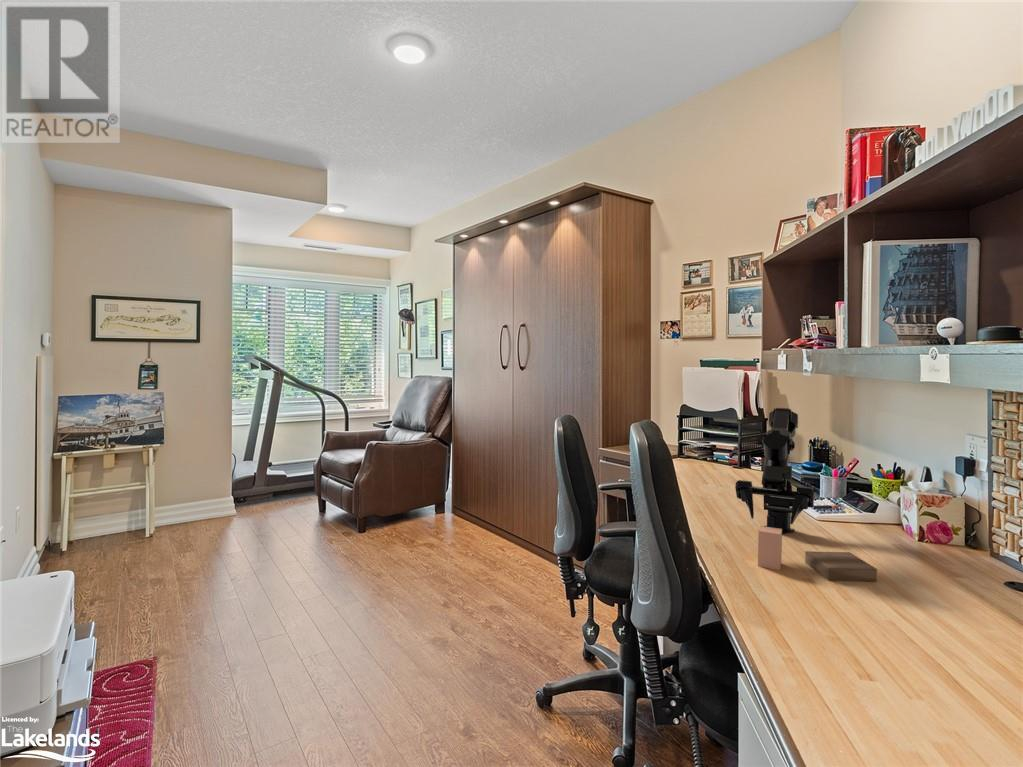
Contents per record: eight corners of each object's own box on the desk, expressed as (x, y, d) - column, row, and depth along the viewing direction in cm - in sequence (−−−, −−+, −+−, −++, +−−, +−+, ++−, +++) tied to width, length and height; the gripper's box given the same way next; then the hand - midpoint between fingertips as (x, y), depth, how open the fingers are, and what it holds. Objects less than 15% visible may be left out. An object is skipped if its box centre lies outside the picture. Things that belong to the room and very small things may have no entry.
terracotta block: (759, 559, 138) (760, 525, 137) (781, 563, 135) (782, 528, 135) (757, 566, 133) (758, 531, 133) (780, 570, 131) (780, 534, 130)
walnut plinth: (805, 562, 135) (805, 551, 135) (849, 563, 135) (849, 552, 135) (828, 580, 124) (828, 567, 124) (876, 581, 124) (877, 569, 124)
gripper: (736, 450, 146) (730, 498, 136) (814, 457, 136) (813, 509, 127) (740, 474, 153) (733, 521, 143) (814, 481, 143) (812, 532, 134)
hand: (771, 520), depth 137 cm, fingers open, 9 cm apart
